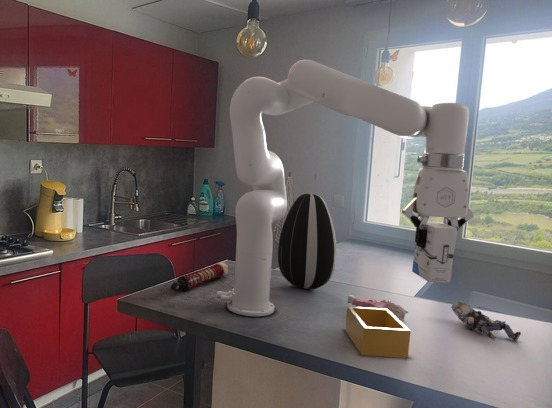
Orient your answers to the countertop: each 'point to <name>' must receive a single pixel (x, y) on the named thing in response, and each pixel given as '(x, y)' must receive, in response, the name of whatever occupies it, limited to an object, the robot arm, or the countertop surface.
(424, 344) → the countertop surface
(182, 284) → the shock absorber
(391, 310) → the toy
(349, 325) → the holder
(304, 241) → the sunflower seed
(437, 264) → the ink box
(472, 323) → the toy
